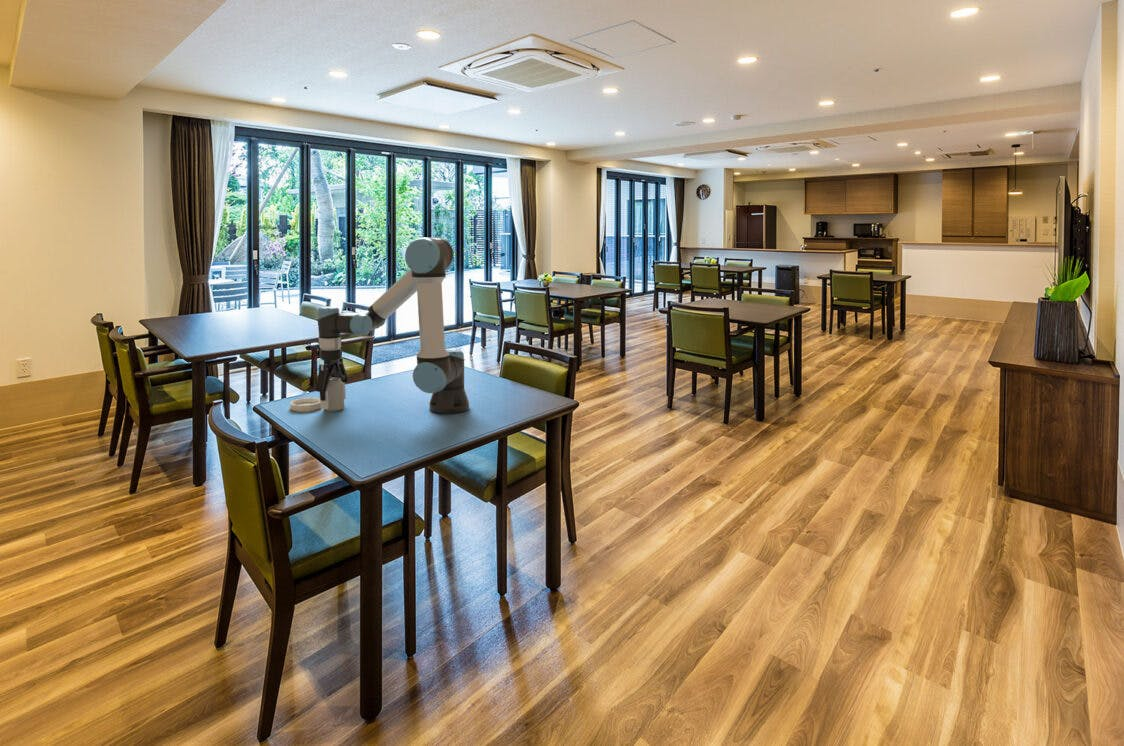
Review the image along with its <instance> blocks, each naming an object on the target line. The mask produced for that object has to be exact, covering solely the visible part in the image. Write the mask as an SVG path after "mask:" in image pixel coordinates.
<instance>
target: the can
mask: <svg viewBox="0 0 1124 746" xmlns="http://www.w3.org/2000/svg"><path fill="white" fill-rule="evenodd" d="M326 391H328V404H329V409H324V410H325V411H326V412H331V413H332V412H340V411H342V410H343V409H344V408H345V399H344V391H343V382H342V381H341V378H337V377H336V376H335V377H332V376H331V377H330V380H329V383H328V387H327V390H326Z"/></svg>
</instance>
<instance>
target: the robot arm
mask: <svg viewBox="0 0 1124 746" xmlns="http://www.w3.org/2000/svg"><path fill="white" fill-rule="evenodd" d="M454 257H455V252H454V248H453V245H451V243H450V242H449V241H447V240H446V239H444V238H442V237H426V236H425V237H420V238H417V239H414V240H412V241H411V242H410V243H409V244H408V246H407V247H406V249H405V254H404V259H405V264H406V265H407V267H408V268H409V269H408V270H407V271H406V272H405V273H404V274H403V275H402V276H400V278H399V279H398V280H397V281H396V282H394V283H393V284H392V285H391V286H390V287H389V288H388V289H387V290H386V291H385V292H384V293H382V294H381V296H380V297H378V298H377V299H376V300H375V301H374V302H373V303H372V304H371V305H370V306H369V307H368V308H367V309H366V310H362V311H359V312H354V313H346V312H345V313H344V312H343V313H342V312H340V308H339V307H337V306H333V305H331V306H320V307H319V308H317V319H316V320H317V326H318V327H317V328H318V343H319V344H318V345H319V346H318V347H319V348H320V350H319V359H320V360H322V361H323V364H318V374H317V375H318V376H317V379H316V387H315V392H318V393H319V399H320V404H321V408H320V409H322V410H325V409H329V404H328V391H326V390H327V387H328V383H329V380H330V378H332V376H333V374H334V376H335V377H337V378H341V381H342V382H343V391H344V400H346V399H347V395H346V383H348V379H349V377H348V373H347V371H346V368H345V365H344V359H343V357H342V356H343V355H342V348H341V347H342V342H341V341H342V340H341V334H345V335H354V336H355V335H356V336H362V335H363V336H367V335H369V334H370V332H371V331H372V330H375V329H379V328H380V327H382V326H384V325H385V323H386V320H387V319H389V317H390V316H391V315H393V313H395V312H396V311H397V310H398V309H399V308H400V307H401V306H403V304H405V303H406V302H407V301H408V300H409V299H410V298H411V297H413V295H414V294H416V295H417V298H416V299H417V310H418V312H417V313H418V329H419V331H418V332H419V347H420V348H419V349H420V350H419V352H417V354H416V366H415V367H414V369H413V371H412V380H413V382H414V385H415V386H416V388H418V390H420V391H421V392H423V393H427V394H431V396H430V397H431V398H430V401H429V410H430V411H431V412H433V413H435V412H436V413H435V414H442V413H445V414H447V413H453V414H458V413H457V412H460V413H464V412H466V410H467V409H468V408H469V409H470V401H469V398H468V395H467V393H466V389H465V354H464V352H463V351H462V350H458V349H446V342H445V341H446V340H445V339H446V338H445V322H444V320H445V319H444V302H443V285H442V284H443V283H442V282H443V281H444V280H445V278H446V277H447V275H446V272H447V271H446V270H447V269H448V268H449V267H450V266H451V265H452V264H453V261H454ZM469 409H468V410H469ZM468 410H467V411H468ZM463 411H464V412H463ZM445 414H444V415H445Z"/></svg>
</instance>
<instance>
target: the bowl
mask: <svg viewBox="0 0 1124 746" xmlns="http://www.w3.org/2000/svg"><path fill="white" fill-rule="evenodd" d="M320 409H321V404H320V398H317V397H304V398H303V397H301V398H297V399H293V400H291V401H290V410H291V411H292V412H298V413H304V412H305V413H306V412H314V411H318V410H320Z"/></svg>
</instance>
